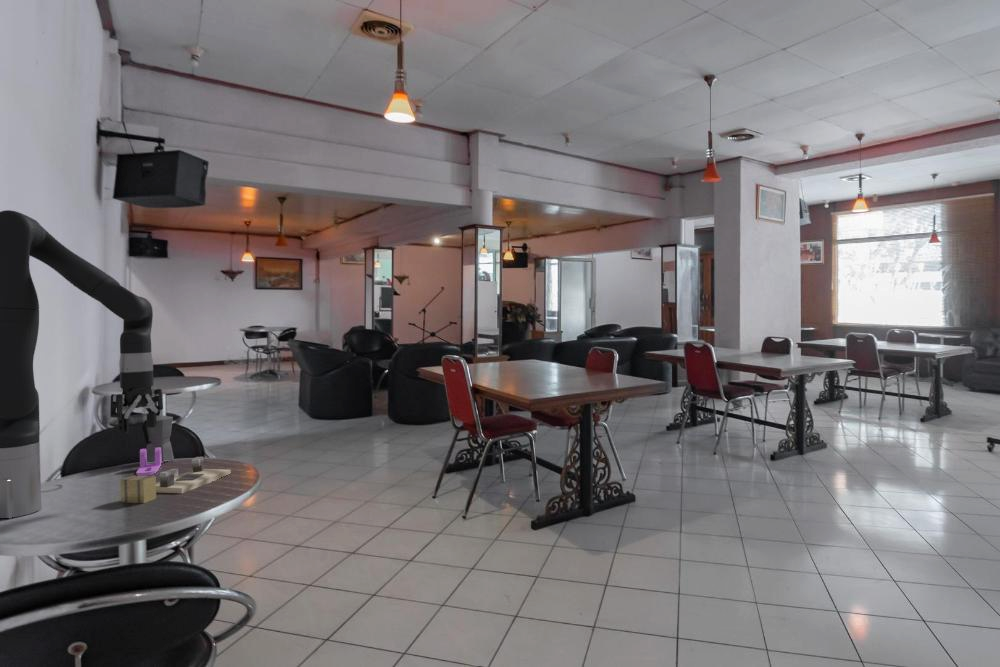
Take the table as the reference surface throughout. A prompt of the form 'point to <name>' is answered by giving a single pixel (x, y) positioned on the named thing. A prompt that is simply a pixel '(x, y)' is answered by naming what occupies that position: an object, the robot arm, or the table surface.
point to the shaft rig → (188, 478)
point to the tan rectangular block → (138, 489)
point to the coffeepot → (158, 437)
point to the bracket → (146, 466)
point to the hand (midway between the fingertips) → (138, 430)
